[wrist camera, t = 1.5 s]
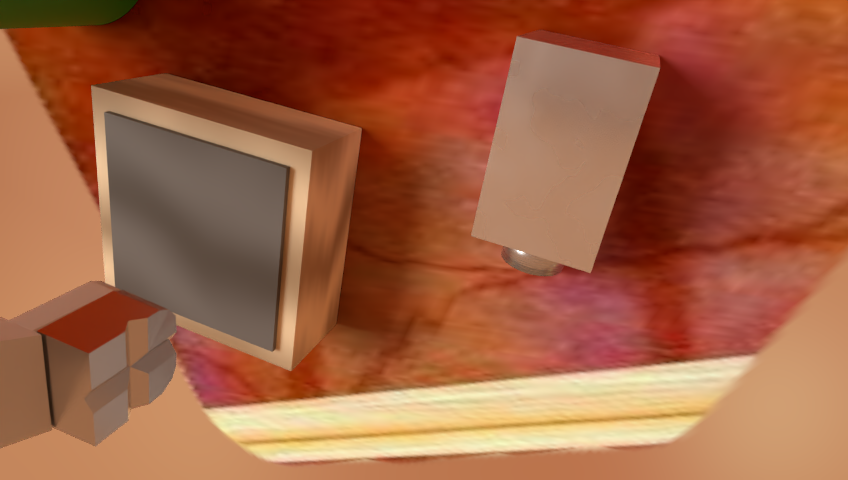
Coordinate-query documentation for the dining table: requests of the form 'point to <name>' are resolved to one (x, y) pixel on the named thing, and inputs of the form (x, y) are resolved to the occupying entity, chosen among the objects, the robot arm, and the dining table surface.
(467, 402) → the dining table surface
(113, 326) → the robot arm
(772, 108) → the dining table surface
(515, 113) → the block
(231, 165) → the stand
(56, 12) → the motor
